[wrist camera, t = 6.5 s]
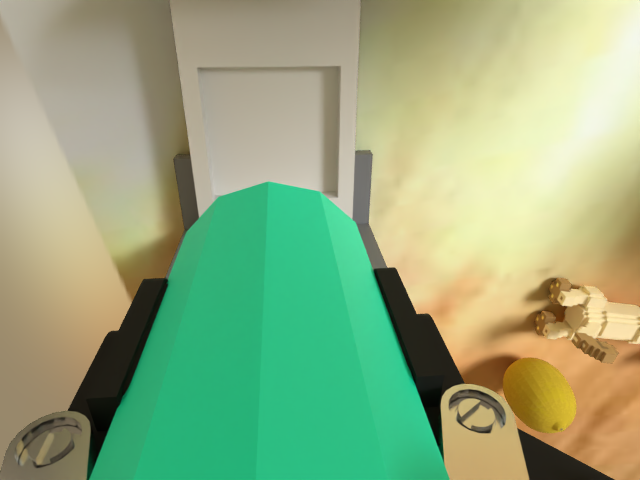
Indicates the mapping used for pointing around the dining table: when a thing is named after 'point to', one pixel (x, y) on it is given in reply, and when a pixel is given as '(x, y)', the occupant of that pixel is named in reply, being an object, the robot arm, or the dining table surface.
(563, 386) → the lemon
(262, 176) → the tray
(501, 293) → the dining table surface
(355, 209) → the housing
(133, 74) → the dining table surface
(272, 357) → the candle
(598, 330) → the cat figure
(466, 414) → the robot arm
